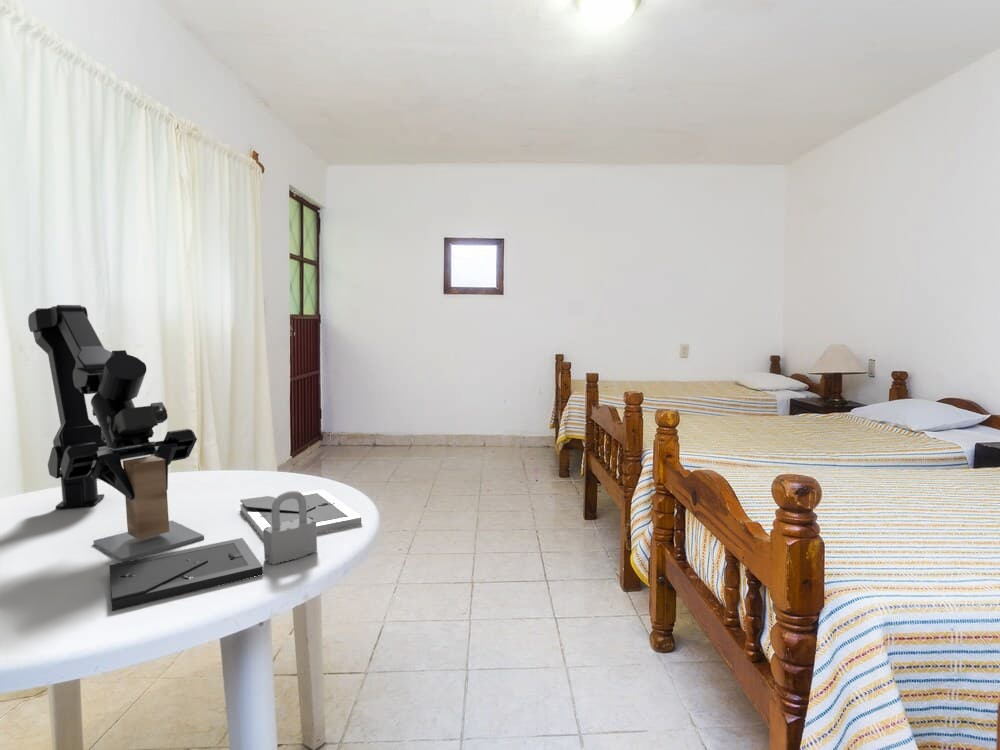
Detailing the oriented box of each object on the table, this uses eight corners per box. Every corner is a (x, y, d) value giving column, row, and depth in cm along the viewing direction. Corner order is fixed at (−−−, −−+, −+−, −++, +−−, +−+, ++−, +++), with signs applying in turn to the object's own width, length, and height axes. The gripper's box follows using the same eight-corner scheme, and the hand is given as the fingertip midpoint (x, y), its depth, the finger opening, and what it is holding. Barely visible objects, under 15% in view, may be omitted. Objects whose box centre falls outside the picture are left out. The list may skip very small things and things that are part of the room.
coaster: (93, 544, 95) (93, 540, 95) (172, 523, 104) (172, 520, 104) (122, 562, 88) (121, 558, 88) (204, 538, 97) (204, 535, 97)
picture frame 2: (240, 514, 112) (267, 548, 95) (240, 499, 111) (266, 531, 94) (323, 499, 120) (361, 528, 103) (323, 486, 120) (361, 512, 103)
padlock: (274, 566, 86) (270, 499, 85) (262, 559, 89) (259, 494, 88) (319, 553, 91) (317, 489, 90) (307, 546, 94) (304, 484, 93)
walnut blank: (127, 533, 96) (122, 460, 94) (157, 525, 99) (153, 455, 98) (138, 539, 93) (133, 464, 92) (169, 531, 96) (164, 459, 95)
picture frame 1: (112, 616, 73) (263, 579, 83) (111, 599, 73) (262, 564, 83) (109, 577, 84) (243, 549, 94) (108, 562, 84) (242, 535, 94)
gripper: (60, 393, 89) (91, 477, 83) (188, 382, 103) (222, 453, 98) (48, 439, 95) (76, 520, 89) (172, 422, 109) (203, 491, 103)
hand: (149, 494), depth 94 cm, fingers closed on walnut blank, 4 cm apart
